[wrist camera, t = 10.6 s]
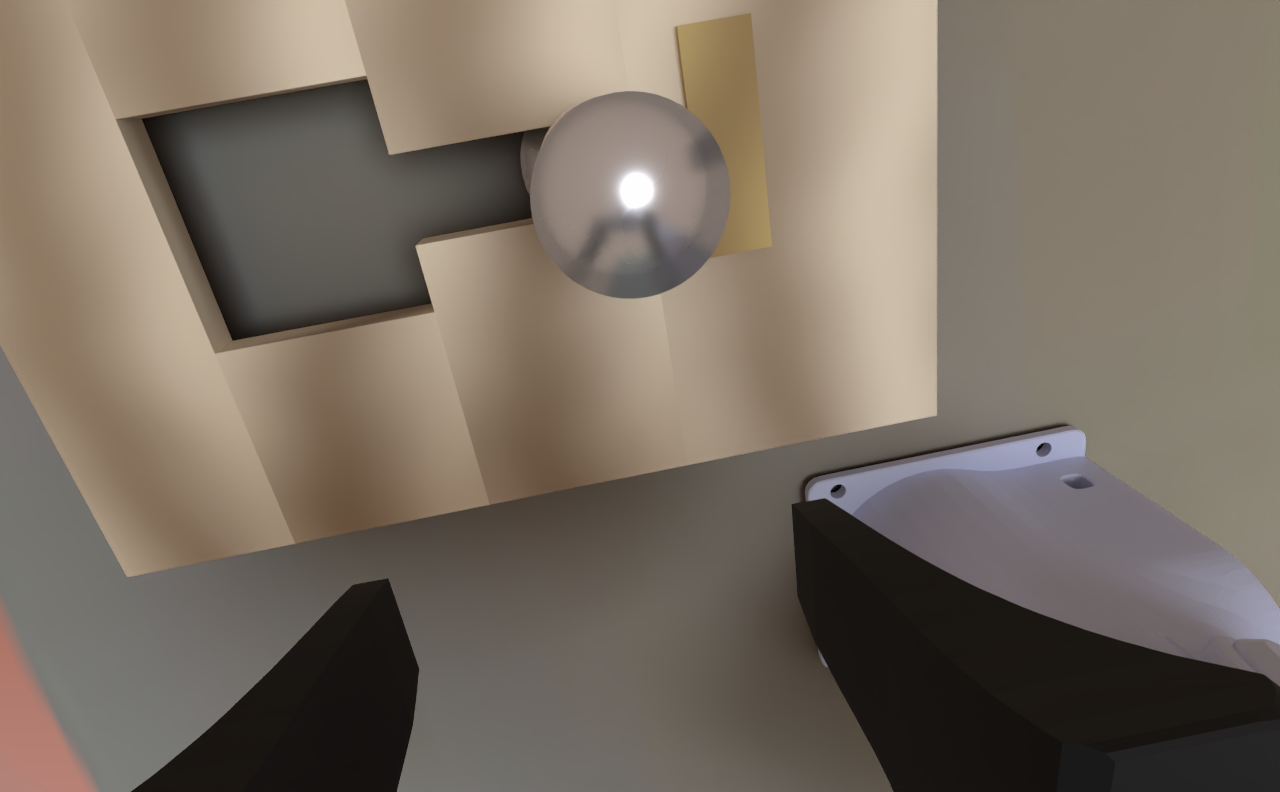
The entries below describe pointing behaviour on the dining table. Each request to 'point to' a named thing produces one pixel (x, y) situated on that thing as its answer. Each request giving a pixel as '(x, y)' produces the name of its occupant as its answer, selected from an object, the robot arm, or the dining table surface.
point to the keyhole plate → (459, 260)
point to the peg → (626, 193)
